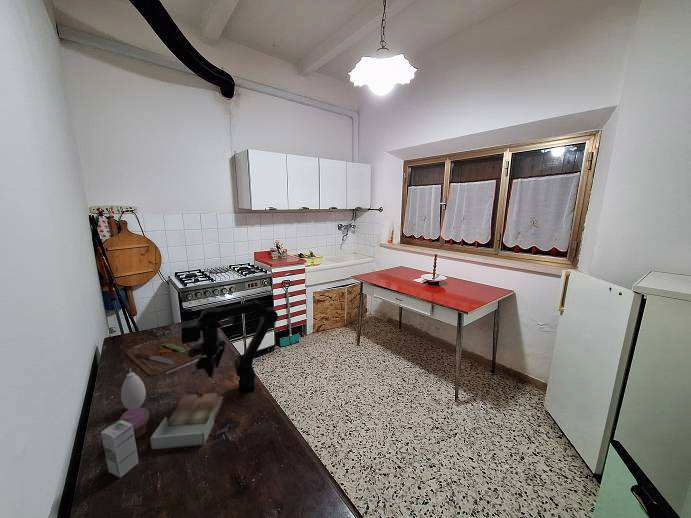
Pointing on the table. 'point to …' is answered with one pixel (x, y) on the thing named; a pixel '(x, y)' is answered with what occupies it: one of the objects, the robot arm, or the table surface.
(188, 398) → the tile
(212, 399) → the tile
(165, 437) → the tray
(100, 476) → the table surface
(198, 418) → the beige flat panel
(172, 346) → the chopping board
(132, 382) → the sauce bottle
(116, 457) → the syrup box
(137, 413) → the cupcake
